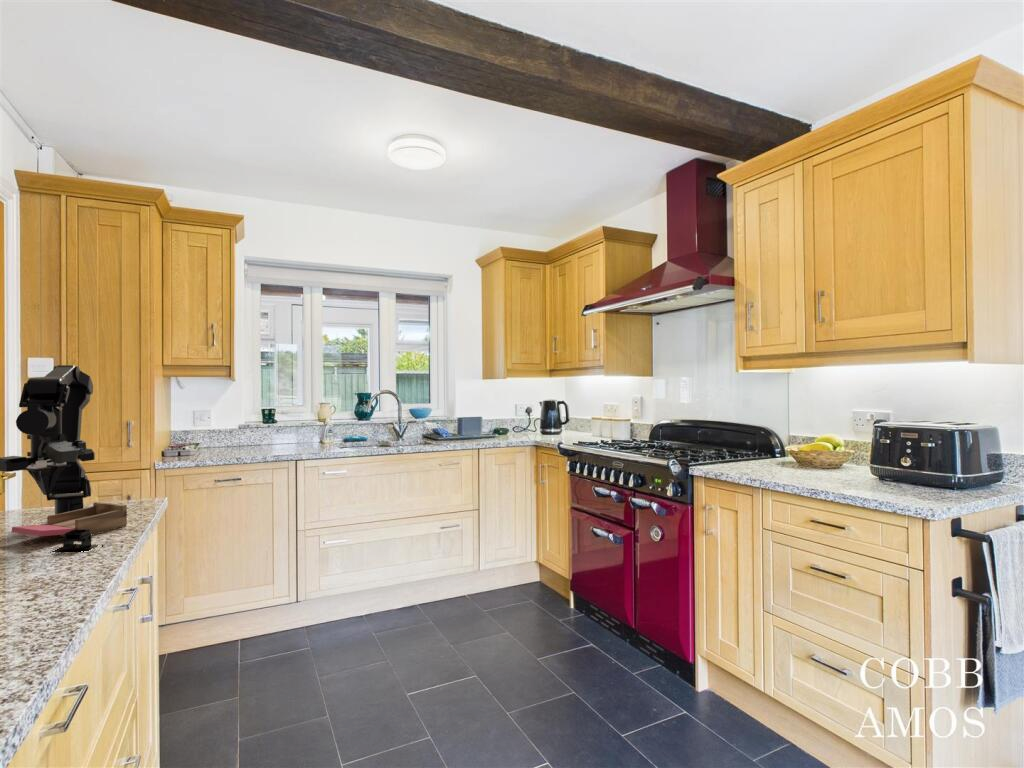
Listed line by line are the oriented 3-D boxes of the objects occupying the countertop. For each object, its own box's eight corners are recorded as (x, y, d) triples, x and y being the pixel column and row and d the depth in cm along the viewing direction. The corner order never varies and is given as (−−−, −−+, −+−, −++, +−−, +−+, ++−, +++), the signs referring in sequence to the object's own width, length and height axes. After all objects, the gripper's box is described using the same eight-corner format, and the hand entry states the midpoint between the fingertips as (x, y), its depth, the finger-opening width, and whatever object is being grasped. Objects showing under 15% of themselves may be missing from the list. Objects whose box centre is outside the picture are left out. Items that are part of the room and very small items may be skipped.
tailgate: (75, 528, 132) (40, 530, 125) (73, 536, 132) (39, 539, 125) (47, 524, 136) (12, 526, 129) (45, 532, 135) (10, 535, 128)
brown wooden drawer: (47, 534, 136) (47, 512, 136) (97, 522, 147) (97, 501, 147) (78, 538, 133) (78, 516, 133) (126, 525, 144) (126, 505, 144)
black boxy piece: (36, 556, 121) (36, 536, 121) (60, 546, 128) (60, 527, 128) (95, 555, 122) (95, 535, 122) (116, 545, 129) (116, 526, 129)
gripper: (22, 436, 119) (23, 506, 120) (109, 428, 137) (110, 489, 137) (-10, 433, 123) (-9, 502, 123) (79, 426, 141) (79, 486, 141)
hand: (46, 494), depth 131 cm, fingers closed
